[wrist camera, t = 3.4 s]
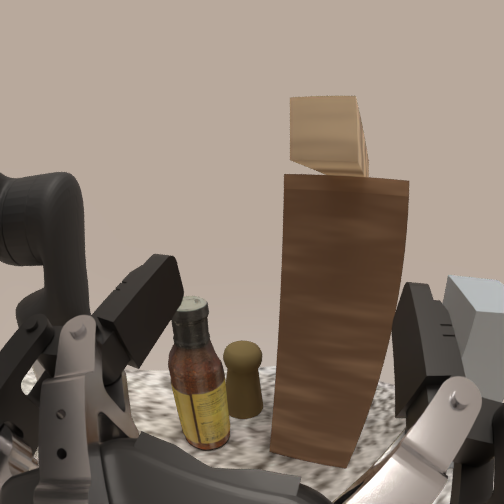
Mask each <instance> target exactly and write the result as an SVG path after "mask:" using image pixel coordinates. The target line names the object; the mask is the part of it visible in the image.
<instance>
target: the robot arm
mask: <svg viewBox="0 0 504 504" xmlns="http://www.w3.org/2000/svg"><path fill="white" fill-rule="evenodd" d="M84 234H85V232H84V207H83V198H82V194H81V189H80V186H79V184H78V182H77V180H76V179H75V177H74V176H72V174H70V173H67V172H55V173H48V174H42V175H35V176H29V177H23V178H9V177H7V176H5V175H3V174H2V173H0V261H1V262H3V263H6V264H9V265H14V266H36V265H37V266H40V265H43V268H44V288H42V289H40V290H38V291H36V292H34V293H32V294H30V295H28V296H27V297H25V298H24V299H23V300H22V301H21V302H20V303H19V304H18V306H17V307H16V319H17V323H18V327H19V329H18V330H17V331H16V332H15V333H14V335H13V336H12V337H11V338H10V340H9V341H8V342H7V343H6V345H5V346H4V347H3V349H2V350H1V351H0V504H432V503H433V502H434V500H435V499H436V498H437V496H438V495H439V493H440V492H441V491H442V489H443V488H444V486H445V484H446V482H447V479H448V476H447V475H446V471H447V469H448V467H449V466H450V464H451V463H452V462H454V467H453V481H452V491H451V499H450V504H504V403H502V402H498V401H494V400H490V399H487V398H484V397H481V393H480V391H479V389H478V387H477V386H476V384H475V383H474V382H472V381H471V380H470V379H468V378H466V376H465V372H464V367H463V363H462V358H461V354H460V350H459V346H458V342H457V339H456V337H455V331H454V328H453V327H452V325H453V324H452V321H451V318H450V314H449V312H448V310H447V309H446V308H445V306H444V305H443V304H442V303H441V301H437V300H433V297H432V294H431V291H430V287H429V285H428V284H423V283H412V282H406V284H405V285H404V288H403V291H402V294H401V297H400V301H399V303H398V306H397V310H396V312H395V315H394V318H393V323H392V343H393V357H394V373H395V418H406V428H405V429H404V430H403V431H402V432H401V434H400V435H399V436H398V437H397V438H396V440H395V441H394V442H393V443H392V444H391V446H390V447H389V448H388V449H387V450H386V451H385V452H384V454H383V455H382V456H381V457H380V458H379V459H378V460H377V461H376V462H375V463H374V464H373V465H372V467H371V468H370V469H369V470H368V471H367V472H366V473H365V474H363V475H362V476H361V477H360V478H359V479H358V480H357V481H356V482H354V483H353V484H352V485H351V486H350V487H349V488H348V489H347V490H346V491H344V492H343V493H342V494H341V495H340V496H339V497H338V498H337V499H335V500H334V501H333V502H331V501H330V500H328V499H327V498H326V497H325V496H324V495H322V494H321V493H319V492H318V491H316V490H314V489H312V488H310V487H308V486H306V485H303V484H301V483H300V480H301V476H293V475H287V474H281V473H275V472H270V471H265V470H260V469H224V468H212V467H209V466H207V465H205V464H204V463H202V462H201V461H199V460H197V459H196V458H194V457H193V456H191V455H189V454H188V453H186V452H185V451H183V450H182V449H180V448H179V447H177V446H176V445H174V444H171V443H169V442H166V441H164V440H161V439H159V438H156V437H154V436H151V435H149V434H147V433H144V432H142V431H141V433H140V435H139V432H138V429H137V427H136V425H135V424H134V421H133V419H132V415H131V409H130V402H129V395H128V387H127V378H126V373H125V371H124V369H125V367H126V366H127V365H130V366H132V367H135V368H138V369H139V368H140V366H141V365H142V363H143V362H144V360H145V359H146V357H147V356H148V354H149V352H150V351H151V349H152V348H153V346H154V345H155V343H156V342H157V340H158V339H159V337H160V335H161V334H162V332H163V331H164V329H165V328H166V326H167V325H168V323H169V322H170V320H171V319H172V317H173V316H174V314H175V313H176V311H177V310H178V308H179V307H180V305H181V303H182V301H183V296H184V290H183V285H182V281H181V277H180V273H179V270H178V265H177V261H176V259H175V257H174V256H169V255H160V254H153V255H152V256H151V257H150V258H149V259H148V260H147V261H146V262H145V263H144V264H143V265H141V266H140V267H138V268H137V269H135V270H133V271H132V272H130V273H129V274H128V275H127V276H126V277H125V279H124V280H123V281H122V283H120V284H119V285H118V286H117V287H116V290H113V292H112V293H111V294H110V295H109V296H108V297H107V298H106V299H105V300H104V301H103V303H102V304H101V305H100V306H99V307H98V308H97V310H96V311H95V312H94V313H93V314H92V315H91V313H90V308H89V292H88V279H87V270H86V259H85V235H84ZM31 367H32V368H33V371H34V373H35V376H36V378H37V383H36V384H35V385H34V387H33V388H32V390H31V392H30V393H29V394H28V395H25V394H24V393H23V391H22V389H21V382H22V380H23V378H24V377H25V375H26V374H27V372H28V371H29V370H30V368H31ZM37 448H38V453H39V468H38V461H37V460H36V459H35V458H34V457H33V455H34V453H35V451H36V449H37ZM494 458H495V471H494ZM29 470H30V471H29ZM493 477H494V490H493Z"/></svg>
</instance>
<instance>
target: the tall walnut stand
mask: <svg viewBox="0 0 504 504" xmlns="http://www.w3.org/2000/svg"><path fill="white" fill-rule="evenodd" d="M408 202H409V181H404V180H394V179H383V178H370V177H354V176H335V175H306V174H303V175H302V174H284V210H283V244H282V246H283V247H282V271H281V294H280V295H281V296H280V316H279V333H278V349H277V365H276V379H275V393H274V406H273V418H272V430H271V441H270V451H269V452H273V453H276V454H280V455H284V456H288V457H292V458H296V459H300V460H304V461H309V462H314V463H318V464H324V465H329V466H335V467H341V468H347V465H348V463H349V461H350V459H351V456H352V454H353V452H354V449H355V447H356V444H357V442H358V439H359V437H360V434H361V432H362V429H363V426H364V424H365V421H366V418H367V415H368V412H369V409H370V406H371V404H372V400H373V397H374V394H375V391H376V388H377V385H378V381H379V378H380V374H381V371H382V367H383V363H384V360H385V356H386V352H387V348H388V344H389V340H390V335H391V331H392V323H393V318H394V315H395V311H396V306H397V300H398V295H399V289H400V282H401V276H402V268H403V261H404V253H405V243H406V233H407V220H408Z"/></svg>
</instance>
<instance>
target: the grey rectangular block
mask: <svg viewBox="0 0 504 504" xmlns="http://www.w3.org/2000/svg"><path fill="white" fill-rule="evenodd" d="M443 305H444V306H445V308H446V309H447V310H448V312H449V314H450V318H451V321H452V324H453V325H452V327H453V328H454V331H455V337H456V339H457V342H458V346H459V350H460V354H461V358H462V363H463V367H464V372H465V376H466V378H468V379H470V380H471V381H472V382H474V383H475V384H476V386H477V387H478V389H479V391H480V393H481V397H484V398H487V399H490V400H494V401H498V402H502V401H503V399H504V285H503V284H502V283H501V282H500V281H498V280H492V279H482V278H472V277H463V276H453V275H448V278H447V284H446V289H445V295H444V299H443ZM453 467H454V462H452V463H451V464H450V466H449V467H448V468H453Z"/></svg>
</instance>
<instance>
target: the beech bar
mask: <svg viewBox="0 0 504 504" xmlns="http://www.w3.org/2000/svg"><path fill="white" fill-rule="evenodd" d="M290 160H291V161H293V162H296V163H298V164H301V165H304V166H306V167H309V168H311V169H314V170H316V171H318V172H321V173H323V174H325V175H335V176H354V177H369V160H368V154H367V148H366V143H365V137H364V132H363V126H362V122H361V117H360V112H359V108H358V103H357V99H356V96H310V97H292V98H290Z"/></svg>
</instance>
